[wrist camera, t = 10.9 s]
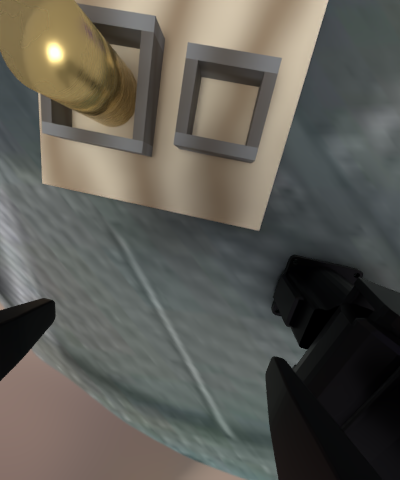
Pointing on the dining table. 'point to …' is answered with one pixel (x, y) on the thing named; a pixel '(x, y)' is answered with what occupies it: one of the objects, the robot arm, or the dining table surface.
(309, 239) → the dining table surface
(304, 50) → the board
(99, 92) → the cylinder
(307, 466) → the robot arm
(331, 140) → the dining table surface
